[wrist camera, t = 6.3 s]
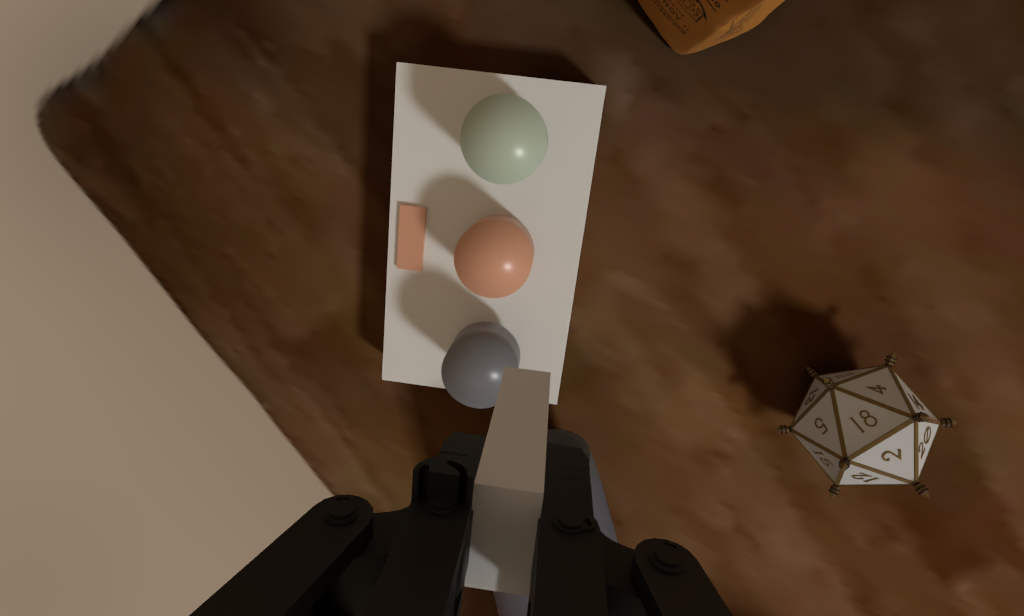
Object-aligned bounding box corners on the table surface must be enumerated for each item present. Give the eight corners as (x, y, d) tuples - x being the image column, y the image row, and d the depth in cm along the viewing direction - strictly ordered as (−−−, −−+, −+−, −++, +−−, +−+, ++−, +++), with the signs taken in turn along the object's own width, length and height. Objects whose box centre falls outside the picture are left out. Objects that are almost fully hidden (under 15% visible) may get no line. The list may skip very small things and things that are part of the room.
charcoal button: (516, 391, 35) (512, 413, 32) (448, 381, 35) (438, 402, 32) (524, 326, 33) (521, 344, 30) (453, 317, 34) (444, 333, 31)
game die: (809, 351, 41) (920, 309, 31) (891, 445, 39) (1034, 431, 30) (728, 422, 38) (821, 400, 29) (812, 525, 37) (940, 538, 27)
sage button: (542, 185, 31) (540, 189, 28) (466, 175, 31) (456, 178, 28) (553, 103, 29) (552, 98, 27) (473, 93, 30) (464, 88, 27)
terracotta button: (529, 289, 34) (526, 303, 31) (460, 280, 34) (450, 293, 31) (538, 219, 32) (536, 226, 30) (466, 210, 33) (457, 216, 30)
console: (556, 385, 39) (556, 406, 36) (394, 362, 40) (380, 381, 37) (602, 90, 33) (606, 85, 30) (410, 68, 34) (395, 61, 31)
